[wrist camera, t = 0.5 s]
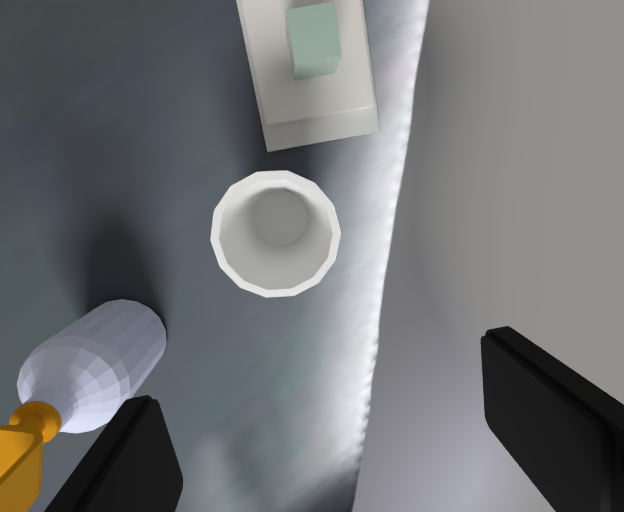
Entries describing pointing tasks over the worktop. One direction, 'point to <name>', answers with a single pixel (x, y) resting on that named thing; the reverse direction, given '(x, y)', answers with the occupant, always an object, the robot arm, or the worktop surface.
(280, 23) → the lid
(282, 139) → the mat
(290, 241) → the foam cup
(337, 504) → the worktop surface
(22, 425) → the soap bottle
